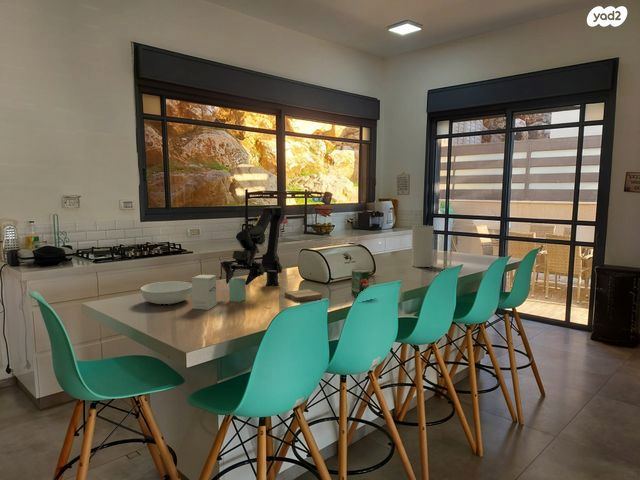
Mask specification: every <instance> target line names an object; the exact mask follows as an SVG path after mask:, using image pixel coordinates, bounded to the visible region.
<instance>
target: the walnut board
mask: <svg viewBox="0 0 640 480" xmlns="http://www.w3.org/2000/svg"><path fill="white" fill-rule="evenodd" d="M322 296H323V294H322V293H320V292H317V291H314V290H312V289H309V288H307V289H300V290H299V289H296V290H292V291H291V290H289V291H285V292H284V297H285V298H286V299H289V300H291V301H294V302H296V303H300V302H301V303H302V302H308V300H309V301H314V300H315V301H316V300H322V299H323V297H322Z"/></svg>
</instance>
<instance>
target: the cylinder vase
mask: <svg viewBox="0 0 640 480" xmlns="http://www.w3.org/2000/svg"><path fill="white" fill-rule="evenodd" d="M411 230H412V232H411V233H412V235H411V236H412V237H411V241H412V242H411V266H412V267H413V266H414V267H413V268H418V267H429V268H433V262H434V261H433V257H434V256H433V255H434V252H433V251H434V225H421V224H419V225H412V229H411Z"/></svg>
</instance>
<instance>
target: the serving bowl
mask: <svg viewBox="0 0 640 480" xmlns="http://www.w3.org/2000/svg"><path fill="white" fill-rule="evenodd" d="M140 293H141V296H142V298H143V299H144V300H146V301H147V302H149V303H152V304H156V305H157V304H158V305H161V304H164V305H165V304H168V305H174V304H177V303H181V302H183V301H186V300H187V299H188V298H189V297H190V296H192V282H189V281H181V280H180V281H179V280H177V281H176V280H175V281H173V280H172V281H159V282H153V283H148V284H145V285H143V286H141V287H140Z"/></svg>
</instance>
